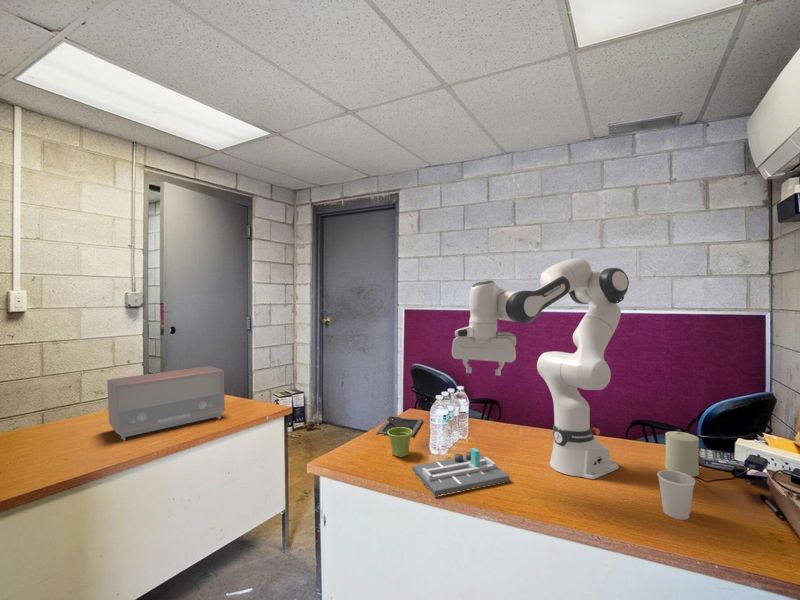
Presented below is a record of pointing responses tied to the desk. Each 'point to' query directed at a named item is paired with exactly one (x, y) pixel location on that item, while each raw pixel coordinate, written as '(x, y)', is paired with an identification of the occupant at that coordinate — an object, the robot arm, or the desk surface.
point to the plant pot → (400, 440)
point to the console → (459, 474)
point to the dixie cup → (676, 493)
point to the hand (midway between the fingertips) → (483, 374)
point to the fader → (475, 458)
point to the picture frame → (400, 424)
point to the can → (682, 453)
